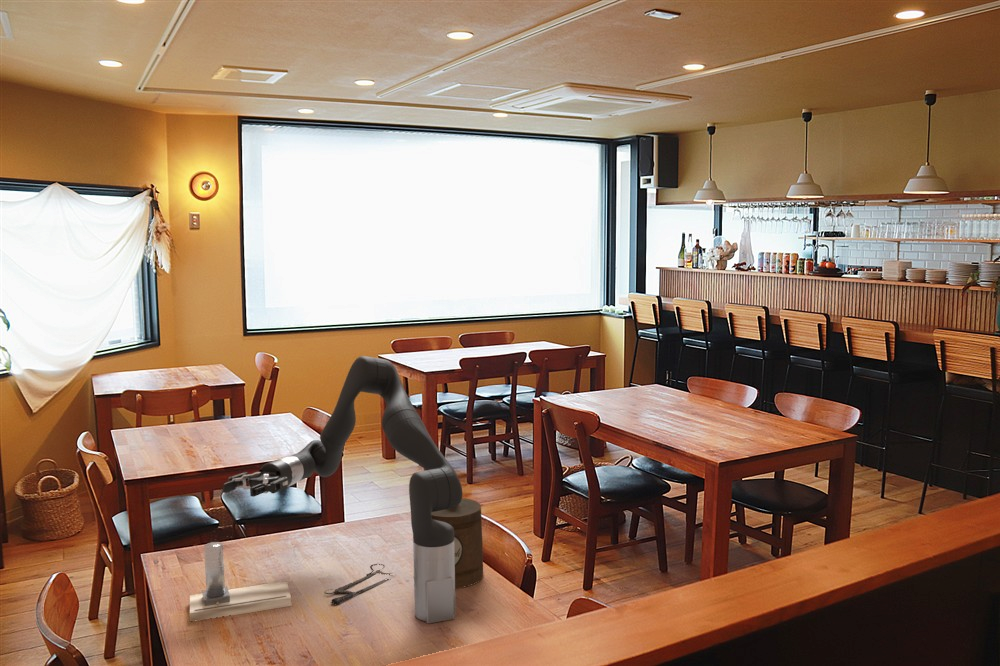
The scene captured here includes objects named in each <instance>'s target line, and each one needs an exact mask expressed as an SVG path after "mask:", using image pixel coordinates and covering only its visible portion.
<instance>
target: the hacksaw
mask: <svg viewBox="0 0 1000 666" xmlns="http://www.w3.org/2000/svg"><path fill="white" fill-rule="evenodd" d="M377 564H379V566H383V567H382V569H384V568H385V564H383V563H374V564H371V565H370V566H369V567H370V569H371V572H369V573H367V574H366V576H364V577H361V578H359V579H356V580H354V581H353V582H350V583H348V584H345V585H343V586H340V587H338V588H336V589H334V591H332V592H328V589H327V590H325V591H324V592H323V593H324V594H325V595H334V594H345V595H342V596H339V597H334V598H332V599H331V601H330V604H332V605H335V604H336V605H337V606H338V605H340V604H341V603H343V602H345V601H347V600H349V598H350V599H351V598H353V596H354V597H356V596H357V595H358V594H361V593H363V592H366V591H367V590H371V589H372V588H374V587H376V586H379V585H382V584H383V583H385V582H388V581H390V580H389V579H387V578H385V579H387V580H385V579H382V580H381V581H378V582H376V583H373V584H371V585H368V586H365V587H364V588H362V589H360V590H357V591H351V590H347V589H349V588H352V587H353V586H355V585H358V584H361V583H362V582H364V581H366V580H368V579H369V578H371V577H374V576H375V575H377V574H380V573H381V574H380V575H385V574H386V575H387V574H389V576H391V575H390V574H392V572H391V573H390V572H388V573H387V572H383V571H380V570H382V569H377V570H376V571H375V570H374V568H373V567H374V566H377ZM380 564H381V565H380ZM373 565H374V566H373ZM372 570H373V571H374V572H373V571H372ZM372 572H373V573H372ZM376 573H377V574H376ZM331 590H333V589H332V588H331V589H329V591H331ZM355 595H356V596H355Z"/></svg>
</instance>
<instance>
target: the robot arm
mask: <svg viewBox="0 0 1000 666" xmlns="http://www.w3.org/2000/svg"><path fill="white" fill-rule="evenodd" d="M404 387H405V386H404V385H403V383H402V380H401V378H400V375H399V373H398V370H397V367H396V366H395V365H394V364H393V363H392V361H390V360H388V359H385V358H384V359H383V358H379V357H372V356H367V355H364V356H363V355H360V356H358V357H357V358H356V359H355V360H354V361H353V362H352V364H351V366H350V369H349V370H348V373H347V374H346V378H345V380H344V382H343V386H342V388H341V391H340V393H339V396H338V399H337V401H336V405H335V407H334V410H333V411H332V413H331V415H330V417H329V419H328V420H327V422H326V424H325V426H324V427H323V429H322V431H321V433H320V436H319V439H314V440H312V441H310V442H309V443H307V445H306V446H305V447H303V448H302V449H301V450H300V451H298V452H297V453H295V454H291V455H289V456H284V457H281V458H277V459H275V460H272V461H270V462H267V463H264V464H263V465H262V466H261V467H260V469H259V470H258V471H256V472H255V471H254V472H253V473H250V474H249V473H248V472H247V471H245V472H242V473H237V474H235V475H232V476H229V477H228V478H227V479H228V481H227V482H225V483H223V484H222V487H221V488H222V493H224V494H227V493H230V492H233V491H234V490H235V491H236V490H238V489H239V490H240V489H243V490H244V491H246V490H249V491H250V493H249V494H250V497H253V498H254V497H256V496H259V495H261V494H268V493H271V494H276V493H278V492H280V491H283V490H285V489H287V488H289V487H291V486H293V485H295V484H296V483H298V482H302V480H303V481H304V480H305V479H308V478H310V477H311V476H312V475H314V472H315V473H316V474H317V475H318V476H319V477H321V478H328V477H330V476H332V475H333V474H335V473H336V471H337V470H338V468H339V467H340V464H341V461H342V456H343V452H344V448H345V445H346V443H347V442H348V440H349V437H350V436H351V435H352V433H353V431H354V429H355V426H356V423H357V421H356V420H357V418H356V411H355V400H356V398H357V397H358V395H359V394H360V393H366V394H367V393H369V394H373V395H378V396H380V397H381V398H382V399H383V400H384V402H385V405H386V407H385V409H384V411H383V414H382V418H381V427H382V430H383V433H384V434H385V436H386V438H387V440H388V442H389V443H390V446H391V447H392V448H393V449H394V450H395V451H396V452H397V453H399V454H400V455H402V456H403V457H405V458H406V459H408V460H410V461H412V462H414V463H415V464H417V465H418V466H420V467H421V468H423V469H424V470H419V471H416V472H414V473H412V475H411V476H410V478H409V485H408V493H409V494H408V495H409V505H410V523H411V530H412V541H413V542H412V543H413V544H412V547H413V548H412V549H413V550H412V551H413V553H412V554H413V556H412V557H413V587H414V588H413V593H414V598H413V599H414V615H415V617H416V618H417V619H418V620H420V621H424V622H426V624H433V623H438V622H445V621H450V620H454V619H455V615H456V613H457V612H456V588H455V555H454V528H453V527H452V526H451V525H450V524H448V523H446V522H442V521H437V520H433V519H432V515H431V512H435V511H440V510H445V509H450V508H453V507H456V506H457V505H459V503H460V502H461V500H462V498H463V487H462V483H461V480H460V479H459V476H458V474H457V472H456V471H455V469H454V468H453V466H452V465H451V463H450V462H449V461H448V459H446V457H445V456H444V455H443V453H442V452H441V450H440V449H439V447H438V446H437V445H436V443H435V442H434V440H433V438H432V437H431V434H429V432H428V429H427V428H426V426H425V424H424V422H423V420H422V418H421V416H420V414H419V413H418V411H417V410H416V409H415V406H414V405H413V404H412V402H411V399H410V397H409V396H408V394H407V392H406V390H405V388H404ZM247 483H248V485H247Z"/></svg>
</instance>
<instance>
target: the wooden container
mask: <svg viewBox="0 0 1000 666" xmlns="http://www.w3.org/2000/svg"><path fill="white" fill-rule="evenodd" d="M481 506H482V505H481V504H480V503H479V502H478V501H476V500H474V499H471V498H466V497H465V498H464V497H462V500H461V502H460V503H459V505H457V506H456V507H453V508H450V509H445V510H440V511H435V512H431V515H432V519H433V520H437V521H442V522H446V523H448V524H450V525H451V526H452V527H453V528H454V555H455V589H458V588H459V587H461V588H465V587H464V586H467V587H469V586H468V585H470V586H472V585H471V584H473V585H475V584H477V583H479V582H481V580H482V579H483V576H484V547H483V546H484V545H483V544H484V543H483V527H482V526H483V525H482V524H483V523H482V507H481ZM478 581H479V582H478ZM476 582H477V583H476ZM474 583H475V584H474Z"/></svg>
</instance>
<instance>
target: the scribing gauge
mask: <svg viewBox="0 0 1000 666" xmlns="http://www.w3.org/2000/svg"><path fill="white" fill-rule="evenodd" d="M223 544H224V543H222V541H221V542H220V541H211V542H208V543H206V544H204V547H203V548H204V566H205V567H204V569H205V584H206V585H205V586H206V589H204V590H202V593H203V601H204V605H205V606H209V605H215V604H217V605H219V604H221V603H226V602H230V595H229V591H228V590H229V589H228V586H226V584H225V565H224V564H225V563H224V545H223ZM202 593H201V594H202Z"/></svg>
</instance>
